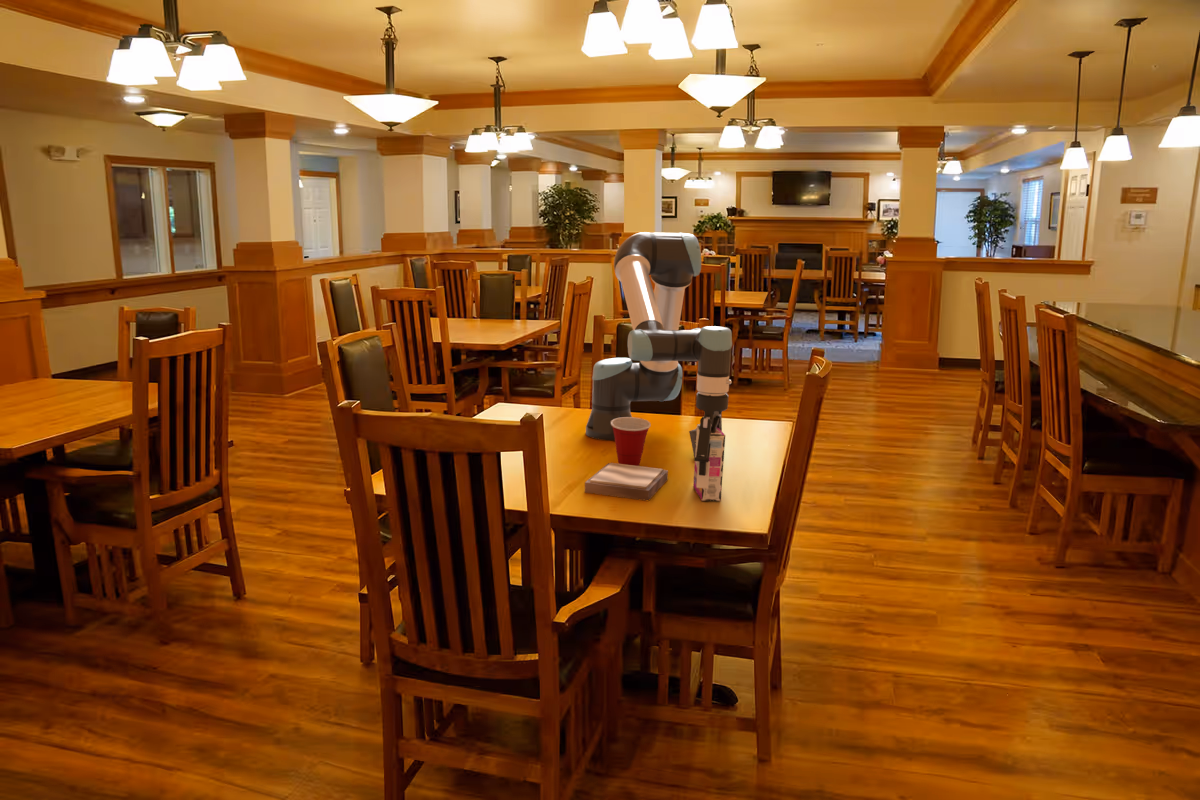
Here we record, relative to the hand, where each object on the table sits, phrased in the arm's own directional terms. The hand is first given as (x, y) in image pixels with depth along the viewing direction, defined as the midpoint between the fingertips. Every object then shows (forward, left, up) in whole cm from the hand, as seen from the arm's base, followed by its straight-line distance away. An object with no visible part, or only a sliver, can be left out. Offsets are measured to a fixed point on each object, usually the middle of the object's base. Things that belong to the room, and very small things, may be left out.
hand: (707, 480), depth 206 cm
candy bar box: (0, 0, -4) cm, 4 cm away
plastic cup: (-17, -25, -4) cm, 30 cm away
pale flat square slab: (+1, -20, -4) cm, 20 cm away
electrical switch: (-34, -8, -4) cm, 35 cm away
